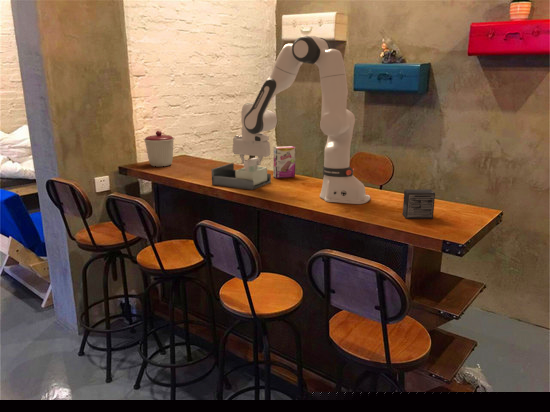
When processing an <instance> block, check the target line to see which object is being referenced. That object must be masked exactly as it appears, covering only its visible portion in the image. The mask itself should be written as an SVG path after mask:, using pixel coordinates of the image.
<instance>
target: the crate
mask: <svg viewBox="0 0 550 412" xmlns="http://www.w3.org/2000/svg"><path fill="white" fill-rule="evenodd" d="M258 160H259V158H258V157H255V158H252V159H249V158H248V159H245V161H244V164H243V167H241V168H239V169H234V170H235V175H236V178H237V179H245V180H253V181H254V186H256V185H258V184H261V183H263V182H266V181H267V174H268V167H266V166H260V165H257V163H256V162H257V161H258Z"/></svg>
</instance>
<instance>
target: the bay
mask: <svg viewBox="0 0 550 412" xmlns="http://www.w3.org/2000/svg"><path fill="white" fill-rule="evenodd" d="M234 167H235V166H234V162H231V163H228V164H224V165H221V166H217V167H215V168H211V185H212V186H221V187H227V188H234V189H243V190H248V191H254V190H256V189H259V188H260V187H263V186H265V185H268V184H270V183H271V181H272V178H271V173H267V181H266V182H263V183H261V184H258V185H256V186H254V181H253V180H245V179H237V178H236V175H235V170H236V169H235V168H234Z"/></svg>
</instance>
